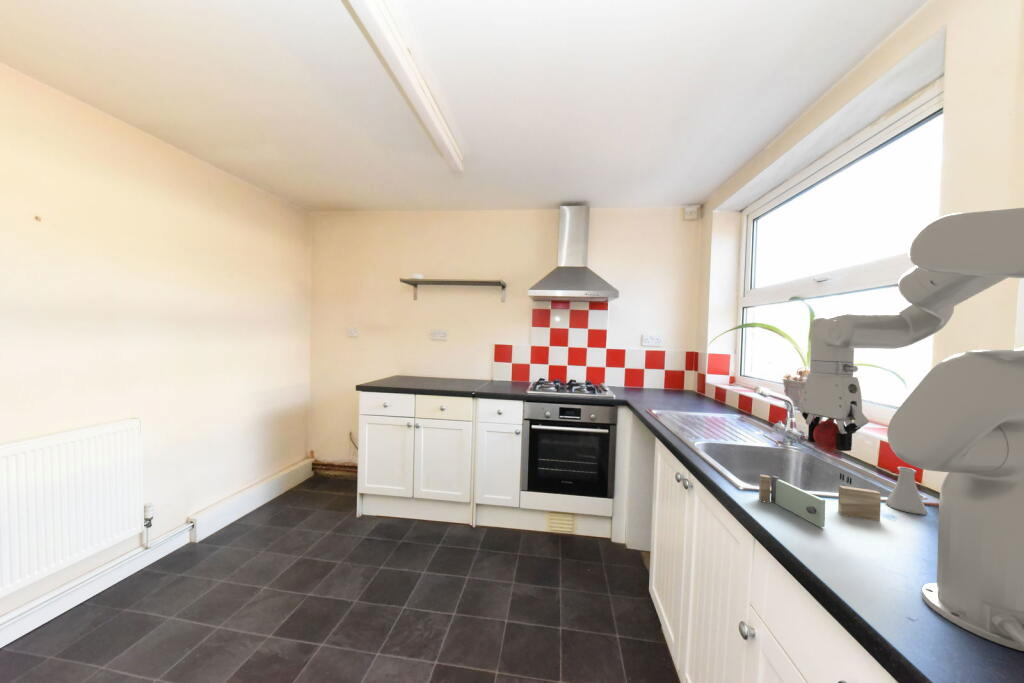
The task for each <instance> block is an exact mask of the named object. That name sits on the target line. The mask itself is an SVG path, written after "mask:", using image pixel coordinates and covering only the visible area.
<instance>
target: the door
mask: <svg viewBox="0 0 1024 683" xmlns="http://www.w3.org/2000/svg"><path fill="white" fill-rule="evenodd" d="M770 478H771V484H770V503H774V504H777V505H779V506H781V507H782V508H784V509H786V510H788V511H789V512H791V513H793V514H795V515H798V516H799V517H800V518H803V519H804V520H806V521H808V522H810V523H812V524H813V525H816V526H818V527H820V528H825V526H826V525H825V524H826V522H825V519H826V499H823V498H822V497H819V496H817V495H815V494H813V493H811V492H808V491H806V490H804V489H802V488H799V487H797V486H795V485H793V484H791V483H790V482H789V483H788V482H786V481H785V480H782V479H780V477H779V476H776V475H771V477H770Z"/></svg>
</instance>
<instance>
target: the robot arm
mask: <svg viewBox="0 0 1024 683" xmlns="http://www.w3.org/2000/svg"><path fill="white" fill-rule="evenodd" d="M908 257H909V260H910V261H911V263H912V264H913V265H914V266H913V267H912V268H910V269H908V270H907V271H906V272H904V273H903V274H902V275H901V276H900V278H899V280H898V282H897V287H898V291H899V293H900V294H901V296H902V297H903V298H904V299H905V300H906V301H907V302H908V303H909V304H908V305H906V306H905V307H903V308H901V309H899V310H898V311H895V312H843V313H837V314H835V315H823V316H822V315H821V316H816V317H814V318H813V319H812V321H811V323H810V324H811V325H810V351H809V352H810V354H809V356H810V357H809V358H810V360H809V372H808V373H807V376H806V380H805V384H804V389H803V401H802V402H800V404H798V405H797V407H796V408H797V410H798V411H799V413H800V414H801V416H802V417H803V419H804V420H805V424H806V425H807V426H808V427H807V428H808V429H807V430H808V432H807V433H808V434H807V435H808V436H807V442H809V443H816V442H815V440H814V438H813V430H814V429H815V427H816V426H817V425H819V424H820V423H822V420H823V418H826V419H828V418H831V419H834V421H835V423H836V424H837V425H838V428H839V431H840V433H837V434H836V449H837V451H839V452H850V451H852V445H853V435H854V434H856V433H857V431H859V430H860V429H861V428H862V427H865V426H866V425H867V424H869V423H870V421H869V419H868V418H867V416H865V414H864V413H863V400H862V399H863V398H862V391H861V390H862V389H861V385H860V382H859V378H858V376H854V373H855V372H858V371H859V368H858V366H857V365H854V359H855V358H854V357H855V349H883V350H884V349H886V350H887V349H889V350H890V349H892V350H894V349H895V350H896V349H899V348H900V349H902V348H904V347H908V346H912V345H914V344H915V343H918V342H920V341H922V340H925V339H926V338H929V337H931V336H932V335H934V334H936V333H938V332H939V331H941V330H942V329H943V328H944V327H945V326H946V325H947V324H948V322H949V321H950V320H951V318H952V316H953V314H954V310H955V307H956V306H957V305H960V304H961V303H963V302H964V301H967V300H968V299H971V298H972V297H975V296H976V295H978V294H980V293H981V292H983V291H985V290H988V289H989V288H991V287H993V286H995V285H997V284H999V283H1000V282H1003V281H1005V280H1006V279H1008V278H1013V279H1024V207H1018V208H1007V209H997V210H996V209H995V210H985V211H984V210H983V211H973V212H972V211H971V212H956V213H951V214H947V215H944V216H943V215H942V216H941V217H939V218H936V219H934V220H933V221H932V220H931V222H929V223H928V224H926V225H924V226H923V227H922V228H921V229H920V230H919V231H917V233H916V234H915V235H914V237H913V238H912V239H911V241H910V244H909V247H908ZM886 435H887V436H886V437H887V441H888V445H889V447H890V449H891V450H892V452H893V453H894V455H895V456H896V457H897V458H899V459H900V460H901V461H902V462H904V463H906V464H908V465H910V466H913V467H915V468H918V469H921V470H926V471H930V472H938V473H939V472H940V473H947V474H946V476H945V478H944V479H943V482H942V483H941V486H940V492H939V505H938V525H937V526H938V529H937V531H938V532H937V563H936V564H937V565H936V582H931V583H925V584H923V585H922V587H921V590H920V591H921V592H920V593H921V598H922V599H923V601H924V602H925V603H926V604H927V605H928V606H929V607H930V608H931V609H932V610H933V611H934V612H936V613H937V614H939V615H940V616H942V617H943V618H944V619H946V620H948V621H949V622H951V623H953V624H954V625H957V626H958V627H961V628H962V629H964V630H965V631H966V630H967V631H969V632H971V633H972V634H975V635H976V636H979V637H981V638H983V639H986V640H988V641H991V642H993V643H996V644H999V645H1002V646H1005V647H1007V648H1011V649H1013V650H1014V649H1015V650H1017V651H1021V652H1024V346H1022V347H1020V348H1016V349H977V350H968V351H963V352H959V353H957V354H953V355H950V356H949V357H946V358H945V359H943V360H942V361H940V362H939V363H937V364H936V365H935V366H933V368H931V369H930V371H929V372H928V373H927V374H926V375H925V376H924V377H923V379H922V380H921V381H920V382H919V384H918V385H917V386H916V387H915V388H914V389H913V390H912V391H911V393H910V394H909V395H908V397H907V398H906V399H905V400H904V401H903V403H902V404H900V406H899V408H898V409H896V411H895V413H894V414H893V416H892V417H891V419H890V421H889V424H888V427H887V432H886Z"/></svg>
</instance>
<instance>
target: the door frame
mask: <svg viewBox="0 0 1024 683" xmlns="http://www.w3.org/2000/svg"><path fill="white" fill-rule="evenodd" d="M771 478H772V477H770V475H767V474H759V481H758V482H759V486H758V488H759V489H758V490H759V492H758V500H759V499H760V500H761V501H765V502H764V503H766V502H769V503H768V504H770V503H771ZM881 494H882V493H881V492H880V491H878V490H874V489H865V488H859V487H852V486H851V487H850V486H846V485H845V486H844V485H838V501H837V502H838V505H837V506H838V508H837V512H838V514H840V516H845V515H847V516H846V517H851V518H858V519H862V520H863V519H864V520H871V521H876V522H881V503H882V502H881V501H882V500H881V498H882V496H881ZM760 500H759V501H760ZM761 501H760V502H761Z"/></svg>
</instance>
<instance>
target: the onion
mask: <svg viewBox="0 0 1024 683" xmlns="http://www.w3.org/2000/svg"><path fill="white" fill-rule="evenodd" d="M837 433H840V431H839V428H838V425H837V422H835V419H831V418H826V420H825V421H821V423H820V424H819V425H817V426H816V427H815V429H814V430H813V438H814V440H815V442H814V443H816V444H817V445H818V446H819V447H820V448H821V449H822V450H824V451H825V452H827V453H834V452H835V451H836V450H837V449H836V434H837ZM837 451H838V450H837Z"/></svg>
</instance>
